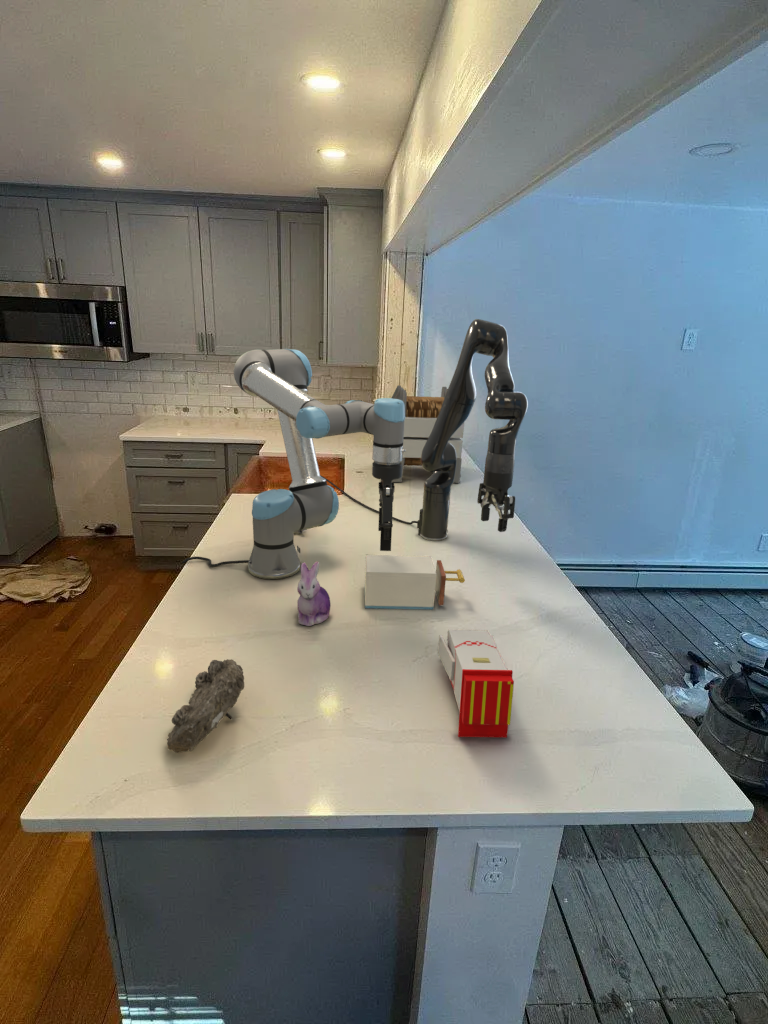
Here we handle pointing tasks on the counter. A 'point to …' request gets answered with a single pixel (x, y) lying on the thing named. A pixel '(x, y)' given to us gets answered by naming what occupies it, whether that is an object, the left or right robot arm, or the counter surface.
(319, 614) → the figurine
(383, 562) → the cabinet
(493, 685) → the toy
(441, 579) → the drawer
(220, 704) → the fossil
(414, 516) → the counter surface
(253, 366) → the left robot arm
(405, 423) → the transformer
